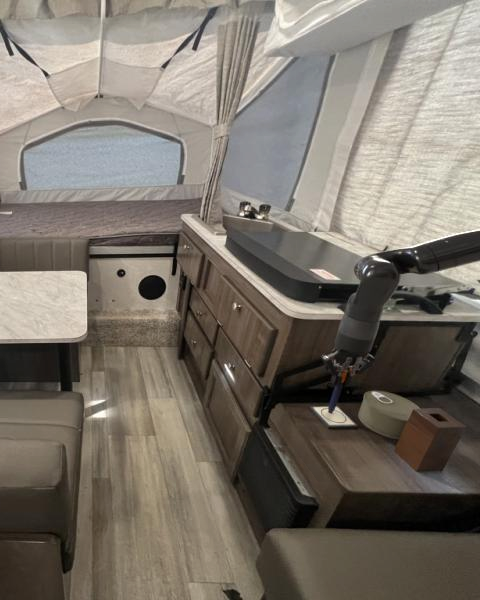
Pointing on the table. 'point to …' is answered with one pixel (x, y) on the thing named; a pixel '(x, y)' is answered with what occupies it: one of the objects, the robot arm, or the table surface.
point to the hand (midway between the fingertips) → (339, 384)
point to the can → (385, 413)
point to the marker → (336, 394)
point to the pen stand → (429, 439)
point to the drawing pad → (333, 417)
